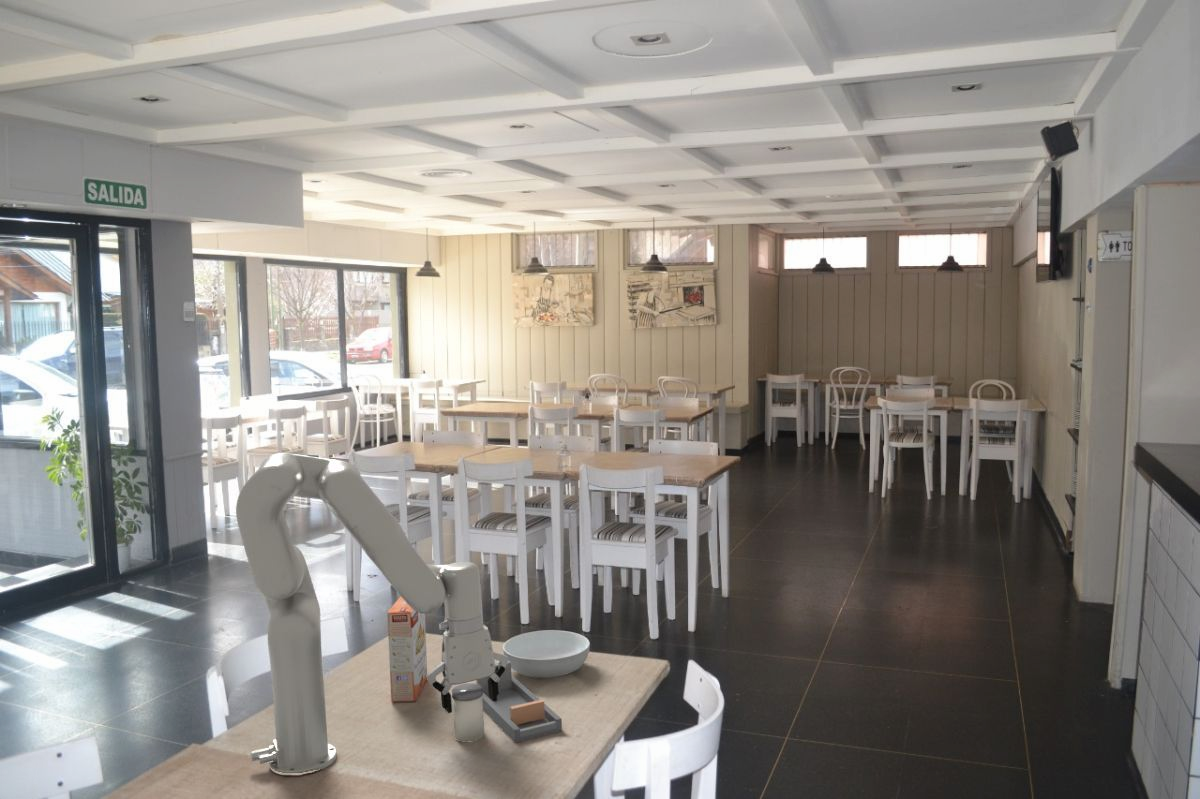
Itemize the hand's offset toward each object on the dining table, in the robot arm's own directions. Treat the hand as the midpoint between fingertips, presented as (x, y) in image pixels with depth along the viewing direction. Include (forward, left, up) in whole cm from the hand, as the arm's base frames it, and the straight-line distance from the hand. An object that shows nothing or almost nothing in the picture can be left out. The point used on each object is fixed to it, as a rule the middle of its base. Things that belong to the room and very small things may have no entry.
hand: (470, 704), depth 192 cm
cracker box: (-5, +30, -7) cm, 31 cm away
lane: (+11, +5, -6) cm, 14 cm away
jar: (-1, 0, -6) cm, 6 cm away
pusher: (+11, 0, -5) cm, 13 cm away
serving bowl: (+27, +24, -7) cm, 37 cm away
